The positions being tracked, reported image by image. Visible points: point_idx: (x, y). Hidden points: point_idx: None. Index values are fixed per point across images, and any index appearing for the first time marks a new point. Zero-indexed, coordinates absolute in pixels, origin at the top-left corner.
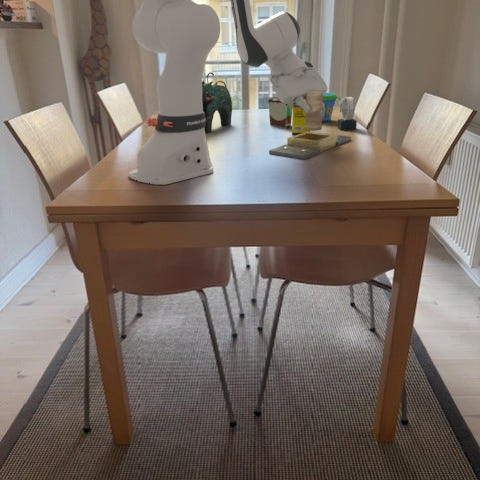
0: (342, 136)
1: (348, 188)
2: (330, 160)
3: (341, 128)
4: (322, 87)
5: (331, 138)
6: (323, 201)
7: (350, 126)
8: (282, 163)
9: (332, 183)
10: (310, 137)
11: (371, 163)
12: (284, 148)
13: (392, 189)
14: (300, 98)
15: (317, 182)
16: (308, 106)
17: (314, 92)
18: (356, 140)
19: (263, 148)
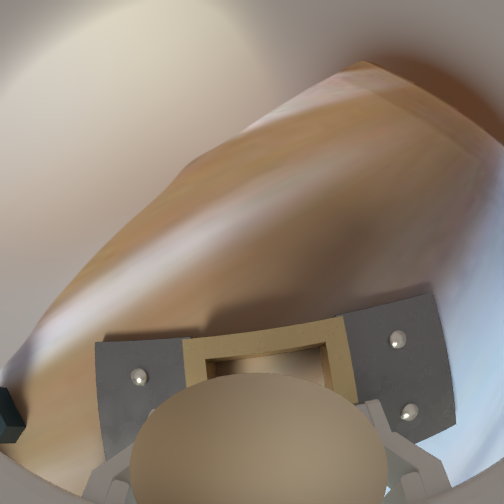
0: (103, 372)
1: (450, 131)
2: (378, 236)
3: (21, 425)
4: (10, 482)
5: (237, 333)
6: (491, 137)
7: (6, 401)
8: (483, 308)
9: (460, 154)
10: None
11: (317, 156)
12: (417, 411)
13: (400, 95)
14: (443, 471)
15: (478, 172)
16: (380, 412)
17: (364, 416)
18: (97, 326)
19: None
